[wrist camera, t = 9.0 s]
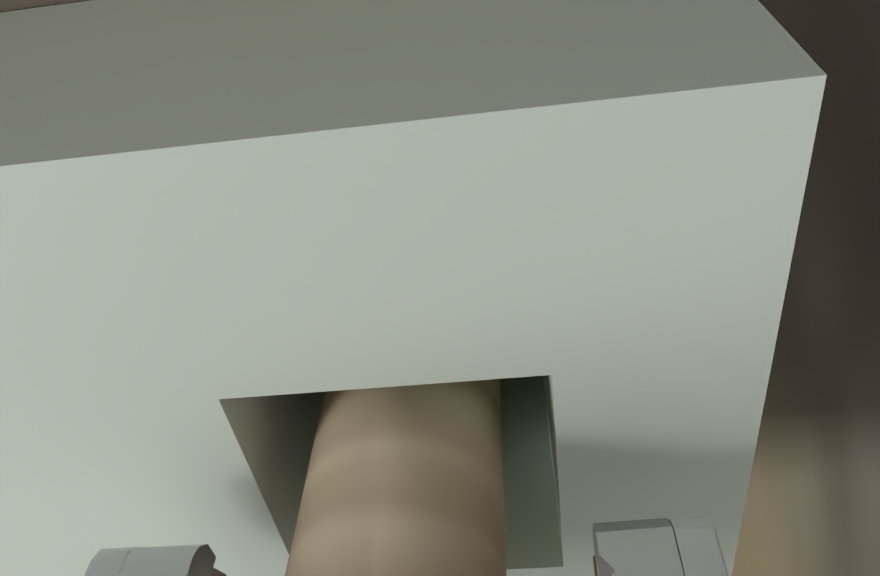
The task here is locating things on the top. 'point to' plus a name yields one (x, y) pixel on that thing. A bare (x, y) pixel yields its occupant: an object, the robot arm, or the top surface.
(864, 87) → the top surface
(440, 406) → the peg
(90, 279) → the hole block
